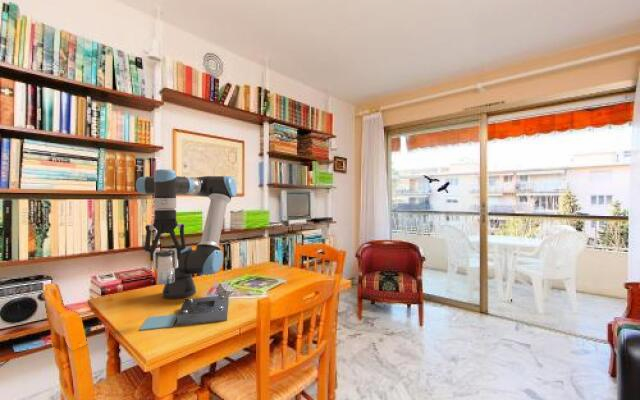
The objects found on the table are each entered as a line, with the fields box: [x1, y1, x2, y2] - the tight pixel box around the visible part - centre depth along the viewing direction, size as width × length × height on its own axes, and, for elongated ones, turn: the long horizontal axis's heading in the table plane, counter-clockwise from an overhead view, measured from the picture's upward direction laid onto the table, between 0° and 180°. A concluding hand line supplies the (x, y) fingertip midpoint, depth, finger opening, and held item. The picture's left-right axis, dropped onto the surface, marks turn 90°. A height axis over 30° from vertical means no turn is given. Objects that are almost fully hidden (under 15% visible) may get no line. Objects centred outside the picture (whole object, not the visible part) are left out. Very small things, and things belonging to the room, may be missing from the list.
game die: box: [215, 281, 235, 297], centre depth 139 cm, size 9×8×10 cm
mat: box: [139, 313, 178, 331], centre depth 113 cm, size 11×11×1 cm
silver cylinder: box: [155, 249, 175, 286], centre depth 114 cm, size 7×7×12 cm
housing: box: [176, 295, 230, 327], centre depth 121 cm, size 18×18×5 cm
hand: (166, 268), depth 114 cm, fingers closed on silver cylinder, 7 cm apart
